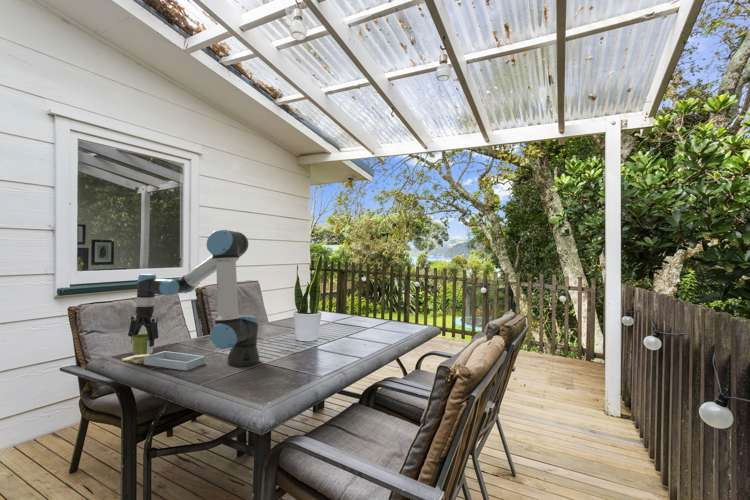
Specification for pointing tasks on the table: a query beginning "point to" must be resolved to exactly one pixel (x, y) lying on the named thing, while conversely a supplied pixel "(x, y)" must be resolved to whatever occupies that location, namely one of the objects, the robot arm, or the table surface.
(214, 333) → the robot arm
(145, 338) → the plant pot
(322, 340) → the table surface
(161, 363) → the pale blue tray
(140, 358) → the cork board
